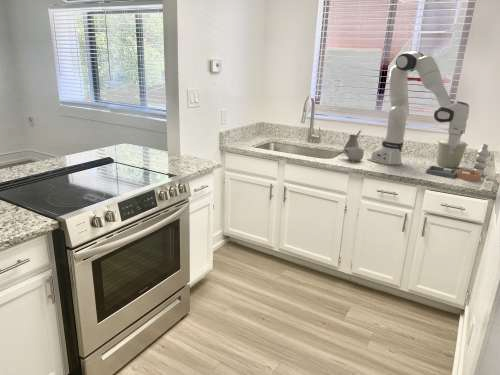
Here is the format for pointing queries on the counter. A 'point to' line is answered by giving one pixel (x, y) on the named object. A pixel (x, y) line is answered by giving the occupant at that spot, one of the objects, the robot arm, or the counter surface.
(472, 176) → the terracotta bowl
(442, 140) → the canister
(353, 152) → the teacup
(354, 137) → the coffee pot
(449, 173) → the cream matte cube
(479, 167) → the silver metal bottle
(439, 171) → the slate tray
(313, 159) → the counter surface
